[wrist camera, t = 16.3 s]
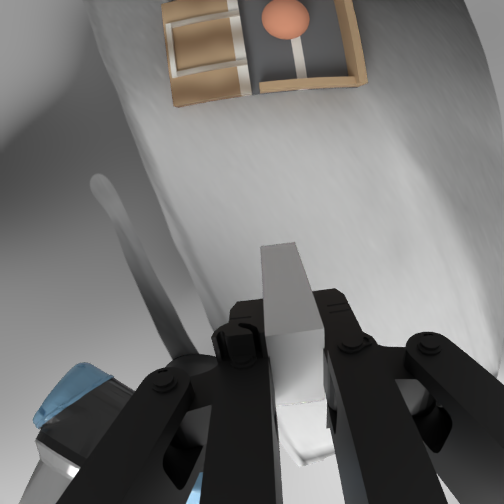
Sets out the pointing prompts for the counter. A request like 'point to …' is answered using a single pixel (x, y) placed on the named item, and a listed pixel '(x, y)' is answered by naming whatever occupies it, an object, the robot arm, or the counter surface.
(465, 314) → the counter surface
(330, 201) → the counter surface
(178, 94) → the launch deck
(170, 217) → the counter surface
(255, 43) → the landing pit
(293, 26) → the ball
